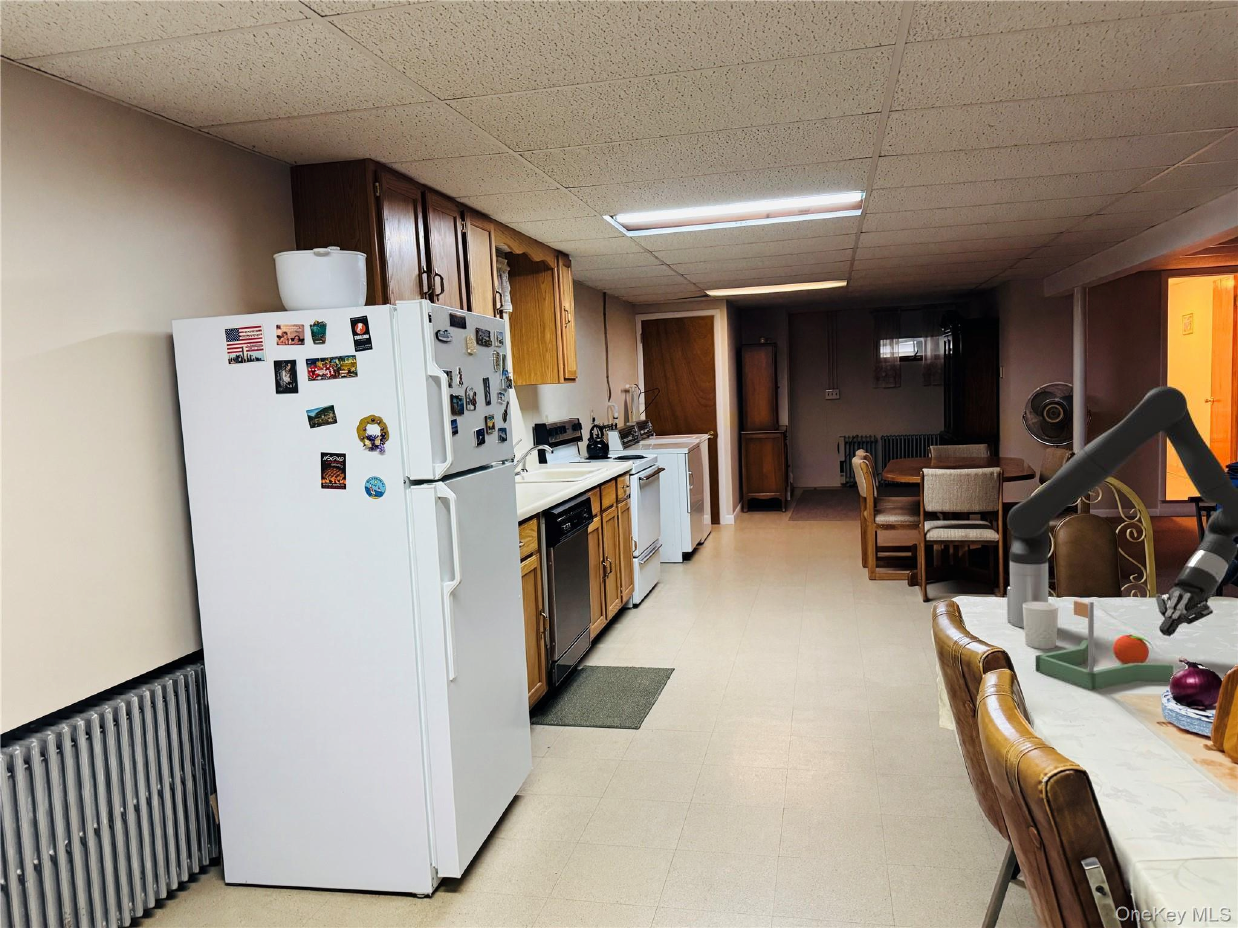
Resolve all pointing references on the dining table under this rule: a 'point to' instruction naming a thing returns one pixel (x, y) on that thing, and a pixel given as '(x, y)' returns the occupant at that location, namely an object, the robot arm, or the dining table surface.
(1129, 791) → the dining table surface
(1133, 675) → the putting stall
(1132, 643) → the clementine
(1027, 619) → the white cup
